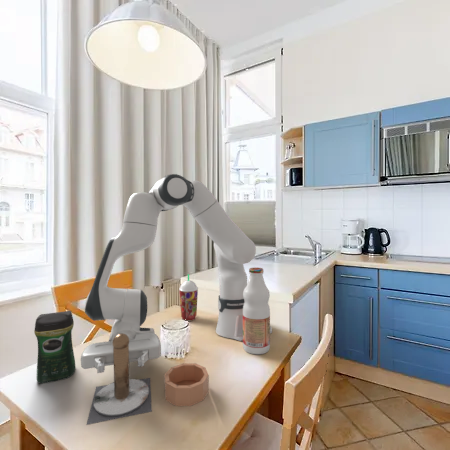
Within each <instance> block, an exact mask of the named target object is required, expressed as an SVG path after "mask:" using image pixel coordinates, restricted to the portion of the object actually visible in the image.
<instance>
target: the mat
mask: <svg viewBox="0 0 450 450" xmlns="http://www.w3.org/2000/svg"><path fill="white" fill-rule="evenodd" d="M138 380H141V381H143V382H145V383H146V384H147V386H148V388H149V396H148V399H147V401H146V402H145V403H144V405H142V406H141V407H140V408H139V409H137V410H136V411H134V412H132V413H129V414H127V415H123V416H119V417H105V416H102V415H99V414H98V413H97V412H96V411H95V410H94V398H95V396H96V394H97V393H98V392H99V391H100V390H101V389H102V388H104V387H105V386H107V385H108V384H103V385H99V386H95V388H94V389H95V390H94V395H93V398H92V402H91V405H90V409H89V413H88V417H87V421H86V426H87V425H92V424H96V423H97V424H98V423H101V422H107V421H112V420H117V419H122V418H128V417H132V416H136V415H142V414H146V413H147V414H148V413H151V412H153V409H152V391H151V389H152V388H151V377H145V378H141V379H138Z"/></svg>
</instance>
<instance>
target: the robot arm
mask: <svg viewBox="0 0 450 450" xmlns="http://www.w3.org/2000/svg"><path fill="white" fill-rule="evenodd" d="M179 206H182V207H185V208H186V209H187V210H188V212H189V213H190V215H192V218H193V219H194V220H195V221H196V222H197V224H198V225H199V227H200V228H201V229H202V231H203V232H204V234H206V235H207V236H208V237H209V238H210V240H211V241H212V242H213V248H214V251H215V257H216V263H217V271H218V279H219V295H218V300H217V308H218V317H217V319H218V320H217V323H216V324H217V325H216V328H215V332H216V334H217V335H219V336H220V337H223V338H225V339H227V338H228V339H233V340H235V341H239V342H241V341H242V342H243V305H244V298H243V291H244V289H245V287H246V286H247V284H248V276H247V273H246V270H245V267H244V264H248V263H250V262H251V261H253V259H254V258H255V256H256V253H257V248H256V247H257V246H256V244H255V242H254V241H253V240H252V239H251V238H249V237H248V235H246V234H245V232H244V231H243V230H242V228H240V227H239V226H238V224H236V223H235V222H234V221H233V220H232V218H231V217H230V216H229V215H228V214H227V211H226V210H225V209H224V208H223V206H222V205H221V204H220V202H219V201H218V199H217V198H216V197H215V195H214V194H213V193H212V191H210V189H209V188H208V187H207V186H206V185H205V184H204V183H203V182H201V181H199V180H192V181H190V180H188V179H186V177H184V176H182V175H181V174H177V173H171V174H167V175H165V176H163V177H162V178H160V179H158V180H157V181H156V182H155V183H154V185H153V186H152V187H151V188H150V189H149V190H148V192H146V191H145V192H144V191H139V192H134V193H133V194H131V195H130V197H129V199H128V201H127V203H126V207H125V211H124V216H123V221H122V226H121V228H120V231H119V233H117V235H116V236H113V237H111V238H110V239H109V241H108V243H107V245H106V247H105V250H104V253H103V255H102V258H101V260H100V263H99V266H98V269H97V272H96V275H95V278H94V281H93V283H92V286H91V289H90V291H89V293H88V295H87V296H86V299H85V302H84V313H85V314H86V316H87V317H88V318H90V319H91V320H92V321H105V320H108V321H109V320H111V321H112V320H113V321H114V322H113V325H112V326H111V330H110V334H109V338H108V341H102V342H94V343H91V344H89V345H88V346H86V347H85V348H84V350H83V352H82V353H81V356H80V366H81V368H82V369H84V370H89V369H96V370H97V374H102V373H104V372H105V369H106V368H105V367H107V366H114V357H113V345H112V342H113V339H114V337H115V336H116V335H118V334H121V333H123V334H126V335H127V336H128V337H129V363H134V362H137V367H138V368H139V367H145V363H147V361H148V360H153V359H154V360H155V359H158V358H160V357H161V355H162V344H161V340H160V337H159V335H157V333H156V332H155V329H154V328H152V327H142V325H143V324H145V321H146V319H147V315H148V297H147V294H145V292H144V291H143V290H142V289H136V288H135V289H134V288H116V287H115V288H114V287H109V286H108V282H109V280H110V276H111V274H112V271H113V269H114V267H115V263H116V262H117V261H118V259H120V258H122V257H124V256H126V255H131V254H134V253H138V252H141V251H143V250H146V249H148V248H149V247H151V245H152V244H153V243H154V242H155V238H156V235H157V229H158V222H159V221H158V220H159V216H160V213H161V212H166V211H169V210H170V211H171V210H173V209H175V208H177V207H179ZM272 333H273V328H272V326H271V325H270V334H272Z"/></svg>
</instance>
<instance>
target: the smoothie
mask: <svg viewBox="0 0 450 450" xmlns="http://www.w3.org/2000/svg"><path fill="white" fill-rule="evenodd" d="M178 291H179V293H178V294H179V304H180V308H179V309H180V317H181V318H182V320H183V319H184V320H183V321H185V319H186V320H192V321H194V320H196V317H197V311H198V310H197V309H198V295H199V294H198V293H199V287H198V286H197V284H196V283H195V281H193V280H190V274H189V273H187V279H186V280H185V281H183V282H182V283H181V284H180V286H179V289H178Z"/></svg>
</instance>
